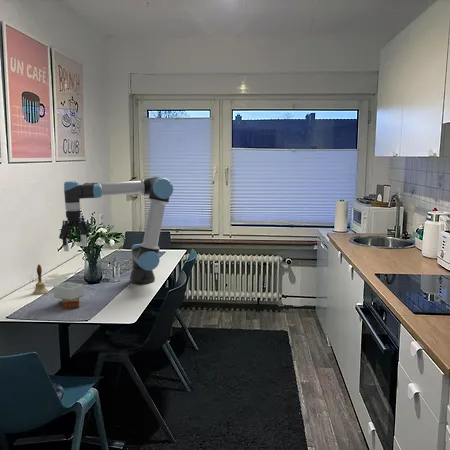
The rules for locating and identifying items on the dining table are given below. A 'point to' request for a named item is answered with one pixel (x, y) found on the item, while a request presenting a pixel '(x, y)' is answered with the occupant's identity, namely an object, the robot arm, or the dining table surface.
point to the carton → (70, 303)
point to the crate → (68, 291)
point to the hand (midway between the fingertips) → (75, 248)
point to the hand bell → (40, 283)
